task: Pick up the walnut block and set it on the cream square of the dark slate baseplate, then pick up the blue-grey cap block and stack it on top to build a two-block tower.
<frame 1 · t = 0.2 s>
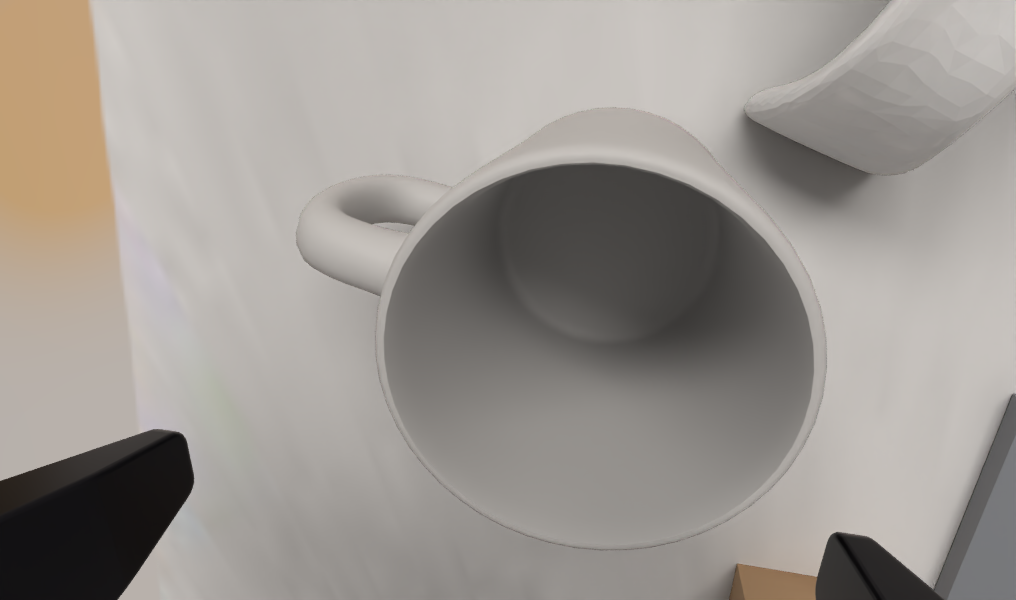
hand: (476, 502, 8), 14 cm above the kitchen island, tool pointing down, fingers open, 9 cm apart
mug: (561, 216, 21), on the kitchen island
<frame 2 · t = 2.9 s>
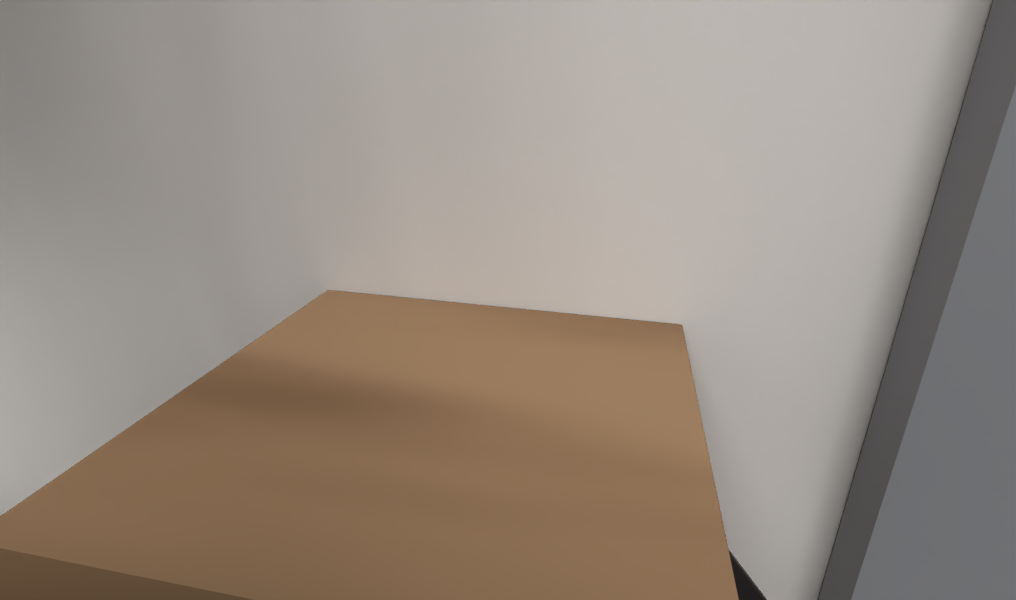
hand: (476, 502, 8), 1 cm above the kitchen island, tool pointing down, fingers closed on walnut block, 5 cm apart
walnut block: (492, 457, 9), on the kitchen island, touching gripper
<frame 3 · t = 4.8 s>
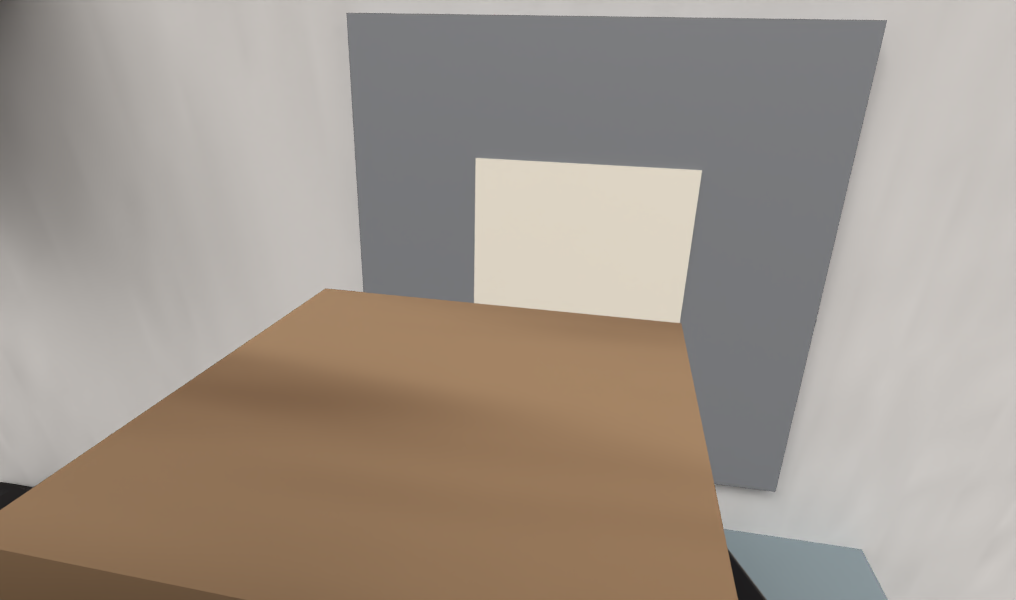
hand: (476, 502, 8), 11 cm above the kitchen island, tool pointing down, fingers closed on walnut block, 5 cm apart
walnut block: (491, 456, 9), point 10 cm above the kitchen island, touching gripper
baseplate: (579, 263, 18), on the kitchen island
cap block: (771, 590, 21), on the kitchen island
when the fingers open (3 cm above the kitchen island, at t = 6.8 s): walnut block stays where it is, resting on baseplate.
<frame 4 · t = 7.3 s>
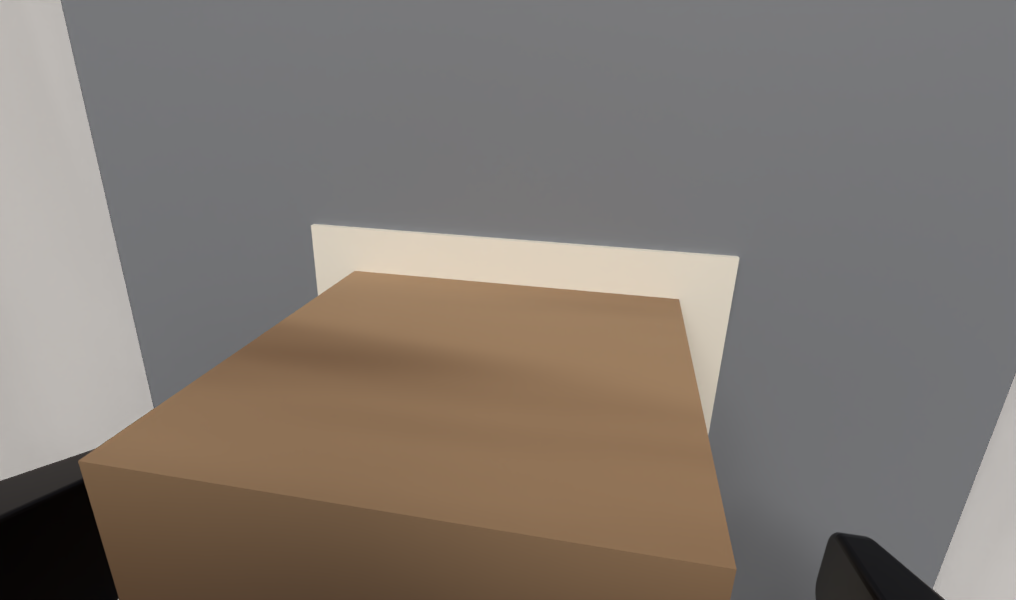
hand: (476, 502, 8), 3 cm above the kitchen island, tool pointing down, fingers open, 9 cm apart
walnut block: (505, 425, 10), point 1 cm above the kitchen island, touching baseplate
baseplate: (515, 399, 10), on the kitchen island
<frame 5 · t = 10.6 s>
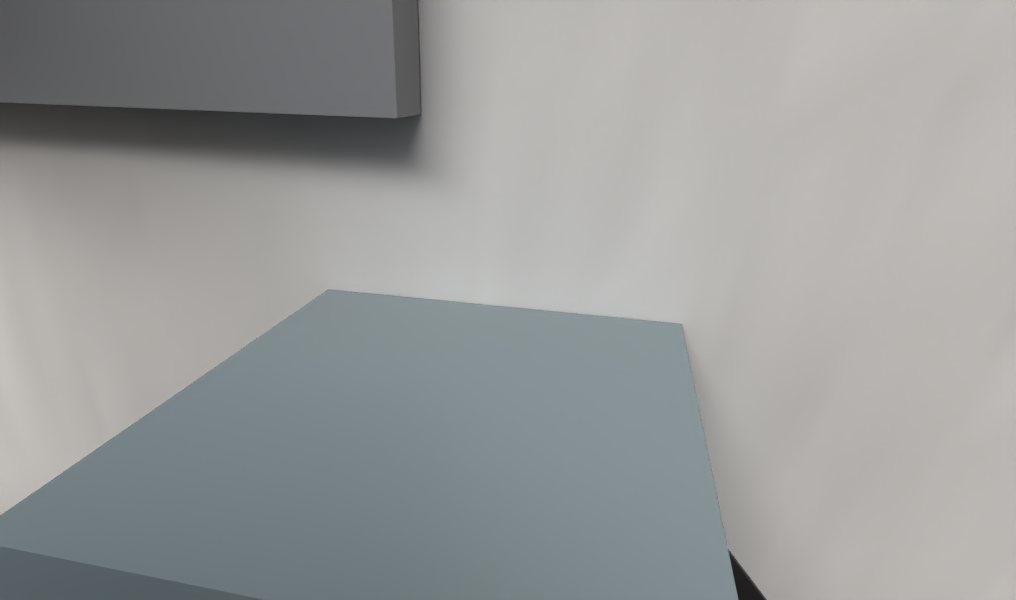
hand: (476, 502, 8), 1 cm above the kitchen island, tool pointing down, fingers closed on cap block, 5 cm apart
cap block: (492, 456, 9), on the kitchen island, touching gripper
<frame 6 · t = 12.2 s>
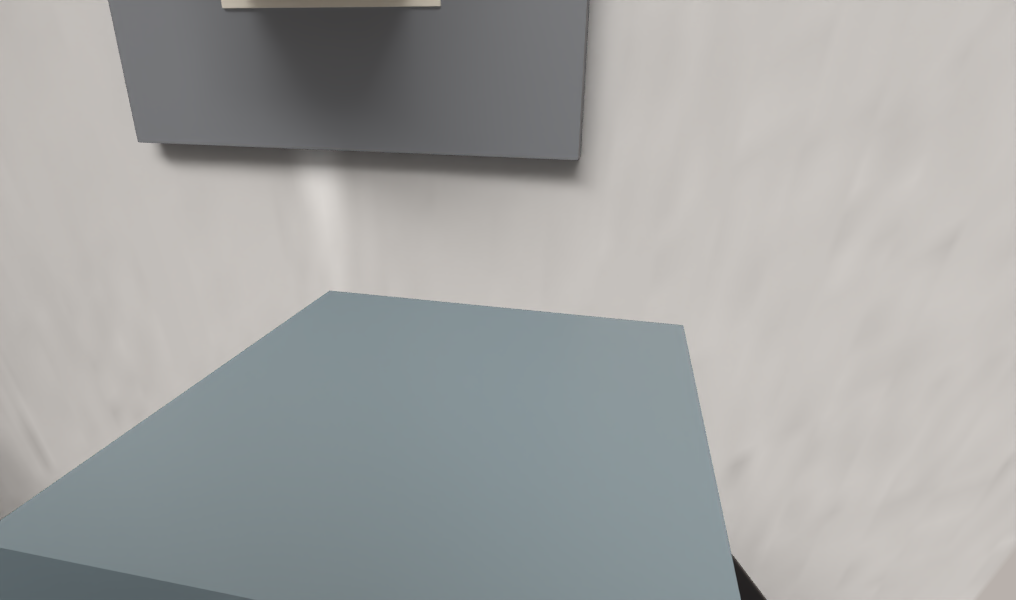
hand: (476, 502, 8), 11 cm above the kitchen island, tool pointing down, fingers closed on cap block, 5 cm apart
cap block: (493, 457, 9), point 10 cm above the kitchen island, touching gripper
when the fingers open (8 cm above the kitchen island, at t = 14.0 s): cap block stays where it is, resting on walnut block.
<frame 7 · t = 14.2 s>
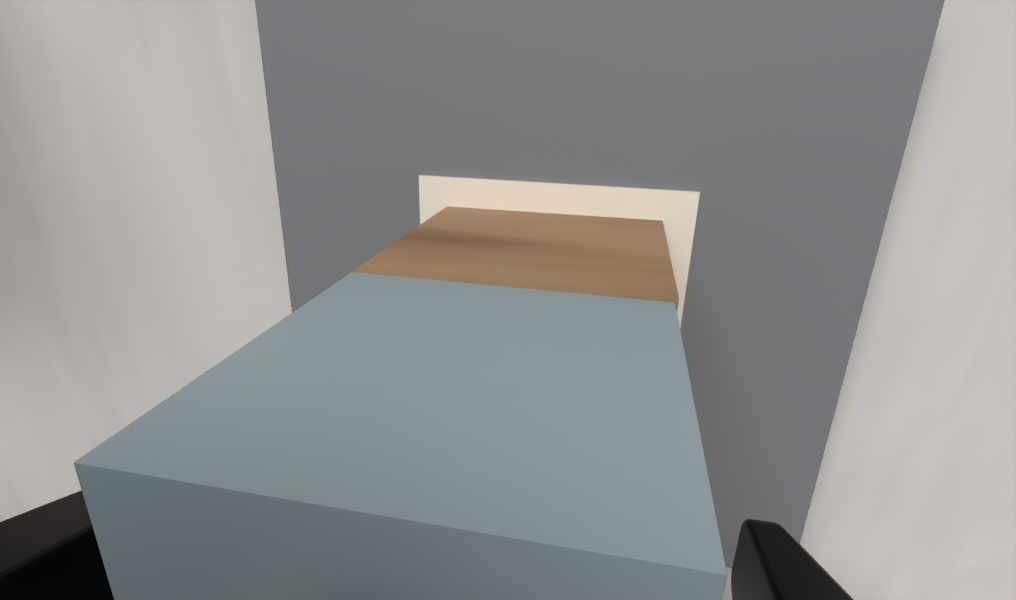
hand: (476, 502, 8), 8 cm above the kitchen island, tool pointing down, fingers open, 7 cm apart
walnut block: (546, 313, 14), point 1 cm above the kitchen island, touching baseplate, cap block
baseplate: (551, 301, 15), on the kitchen island
cap block: (501, 426, 10), point 6 cm above the kitchen island, touching walnut block
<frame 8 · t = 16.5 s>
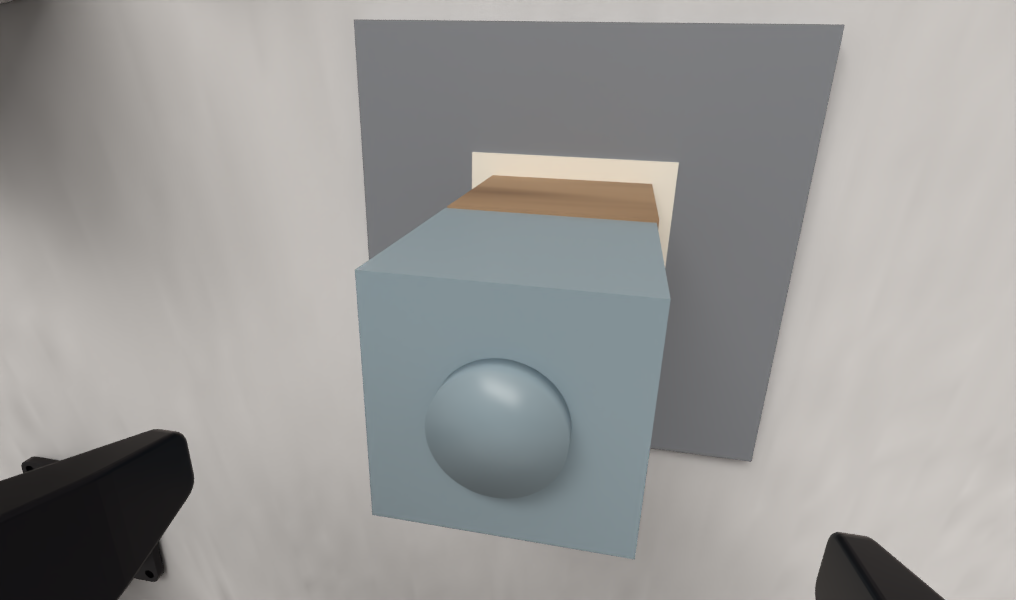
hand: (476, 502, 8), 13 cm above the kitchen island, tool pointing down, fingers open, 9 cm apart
walnut block: (565, 255, 19), point 1 cm above the kitchen island, touching baseplate, cap block
baseplate: (568, 249, 20), on the kitchen island
cap block: (542, 313, 14), point 6 cm above the kitchen island, touching walnut block
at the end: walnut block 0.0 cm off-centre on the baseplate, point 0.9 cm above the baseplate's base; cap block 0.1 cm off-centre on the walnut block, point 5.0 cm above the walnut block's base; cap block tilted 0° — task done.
